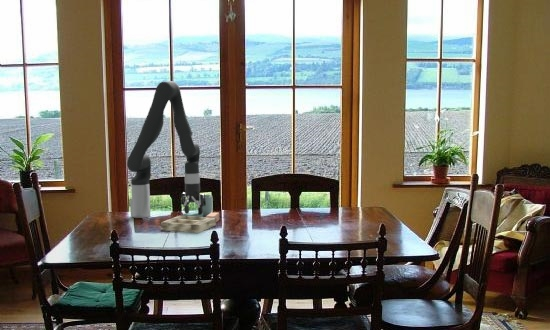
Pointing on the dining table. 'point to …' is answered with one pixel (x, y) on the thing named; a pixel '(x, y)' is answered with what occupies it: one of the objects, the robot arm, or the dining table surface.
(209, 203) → the cup
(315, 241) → the dining table surface
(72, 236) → the dining table surface
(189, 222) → the slot rack
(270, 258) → the dining table surface
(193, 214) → the batten teal
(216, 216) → the block
